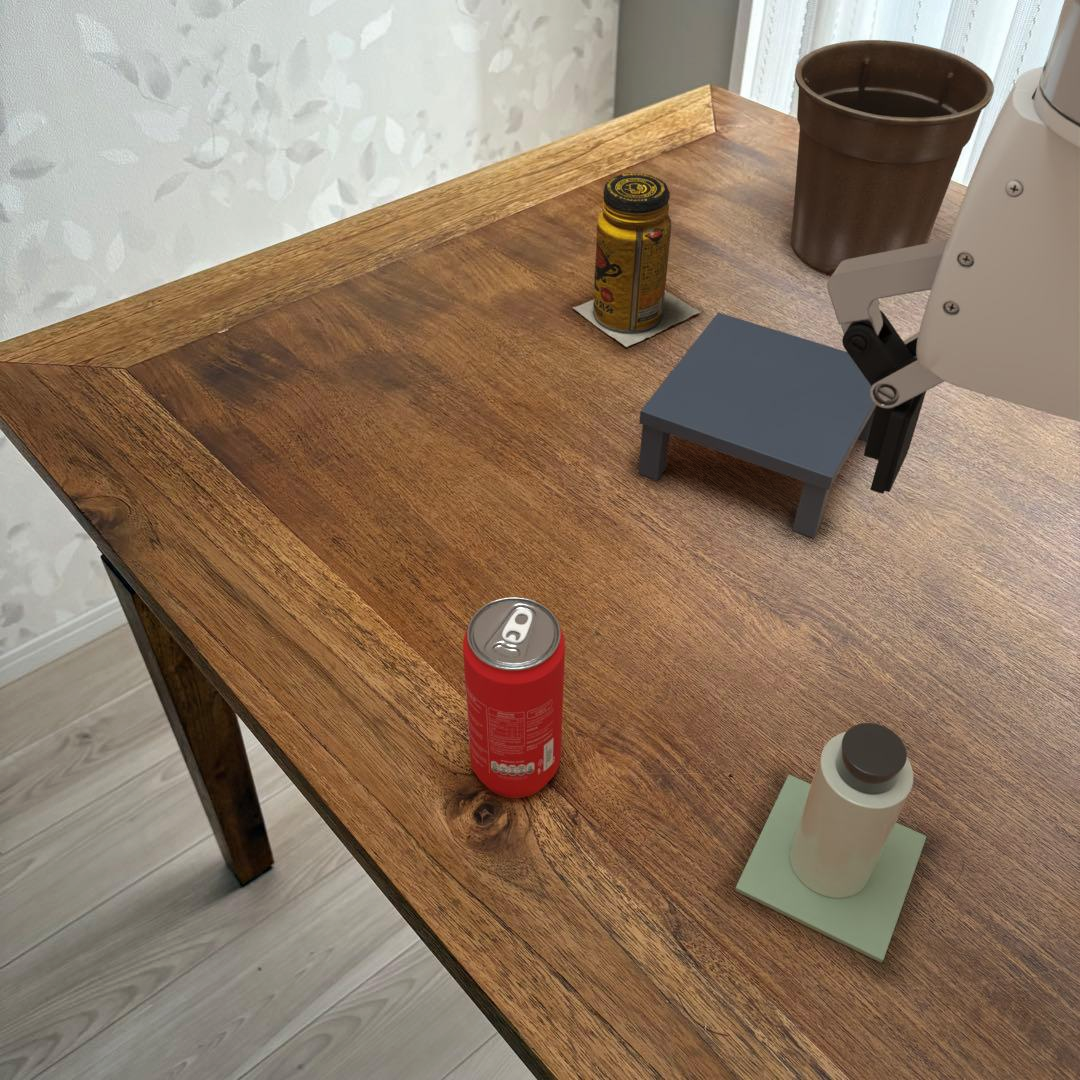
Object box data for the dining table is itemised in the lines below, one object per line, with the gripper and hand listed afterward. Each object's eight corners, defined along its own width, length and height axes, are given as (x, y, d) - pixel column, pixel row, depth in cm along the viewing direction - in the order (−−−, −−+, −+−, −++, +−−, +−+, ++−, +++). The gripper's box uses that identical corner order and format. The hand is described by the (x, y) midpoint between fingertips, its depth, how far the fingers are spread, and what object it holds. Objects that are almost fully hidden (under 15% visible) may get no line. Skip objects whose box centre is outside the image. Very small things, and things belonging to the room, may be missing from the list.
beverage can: (456, 788, 63) (445, 655, 55) (490, 717, 66) (485, 582, 58) (542, 816, 62) (544, 685, 53) (572, 743, 65) (579, 608, 57)
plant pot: (732, 227, 107) (757, 58, 95) (864, 189, 112) (902, 25, 101) (840, 313, 97) (882, 135, 85) (979, 267, 102) (1036, 94, 91)
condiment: (572, 309, 97) (576, 181, 88) (645, 278, 100) (656, 152, 92) (626, 349, 93) (636, 219, 84) (700, 315, 96) (717, 187, 88)
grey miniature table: (876, 429, 86) (894, 366, 81) (815, 541, 77) (832, 477, 73) (708, 374, 90) (718, 311, 86) (633, 474, 82) (640, 410, 78)
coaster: (925, 839, 61) (927, 835, 61) (881, 963, 56) (883, 960, 56) (787, 777, 64) (788, 773, 63) (734, 890, 59) (735, 887, 59)
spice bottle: (882, 846, 60) (933, 734, 53) (857, 913, 58) (907, 804, 50) (805, 810, 62) (844, 696, 54) (777, 874, 59) (813, 763, 52)
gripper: (1542, 79, 31) (1260, 524, 43) (917, -22, 36) (825, 395, 49) (1570, 196, 26) (1245, 659, 38) (849, 60, 32) (766, 498, 44)
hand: (1010, 510), depth 43 cm, fingers open, 9 cm apart
